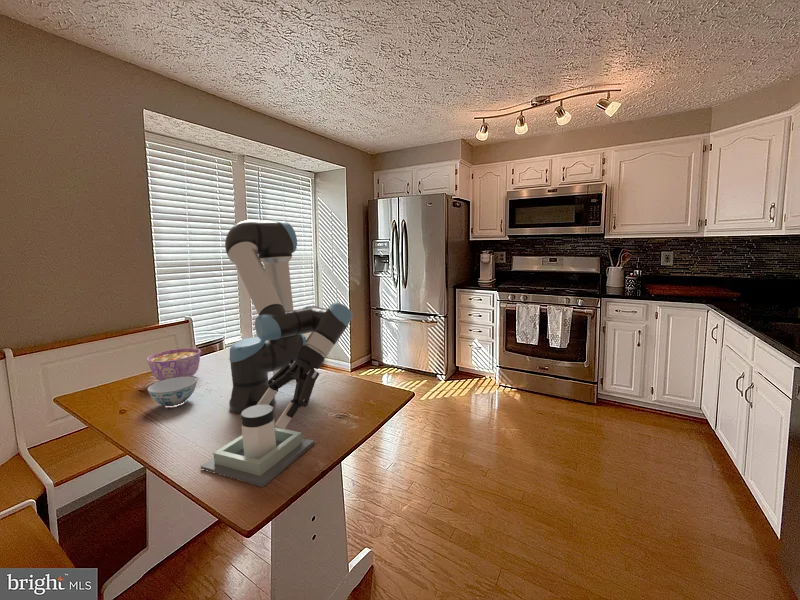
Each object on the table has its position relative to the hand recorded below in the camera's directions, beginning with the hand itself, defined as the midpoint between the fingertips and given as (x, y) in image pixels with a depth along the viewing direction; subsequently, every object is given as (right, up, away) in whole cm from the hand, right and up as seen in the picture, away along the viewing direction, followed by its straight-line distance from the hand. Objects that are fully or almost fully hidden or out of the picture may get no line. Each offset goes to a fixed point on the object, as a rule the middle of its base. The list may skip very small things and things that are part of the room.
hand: (268, 418), depth 98 cm
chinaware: (-47, -7, +36) cm, 60 cm away
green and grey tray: (-2, -10, 0) cm, 10 cm away
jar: (-2, -9, 0) cm, 10 cm away
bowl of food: (-61, -3, +61) cm, 87 cm away
